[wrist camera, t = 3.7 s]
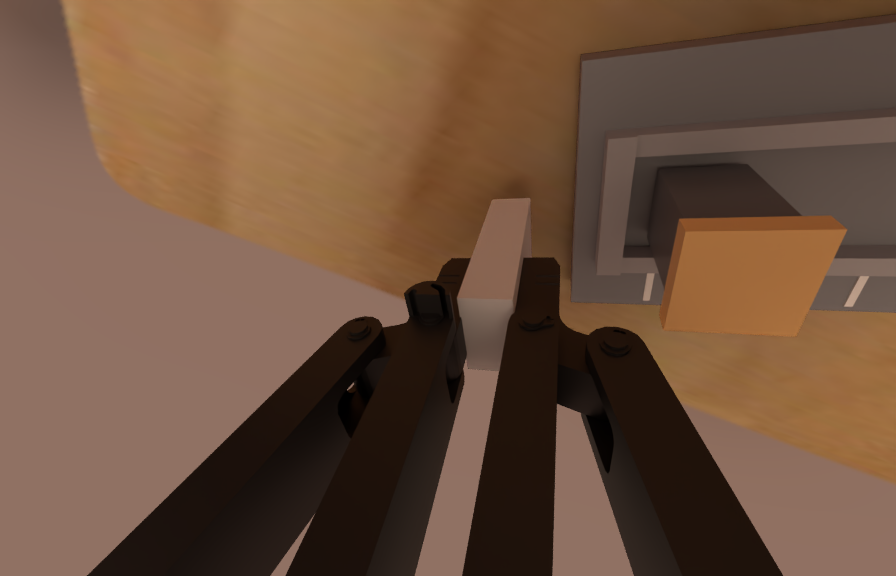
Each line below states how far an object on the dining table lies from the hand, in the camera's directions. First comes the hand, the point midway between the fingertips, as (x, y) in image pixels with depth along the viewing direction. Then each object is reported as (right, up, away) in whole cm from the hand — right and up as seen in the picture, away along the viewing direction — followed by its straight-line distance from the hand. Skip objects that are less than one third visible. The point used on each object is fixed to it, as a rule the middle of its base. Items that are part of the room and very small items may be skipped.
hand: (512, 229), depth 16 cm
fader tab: (+7, +1, 0) cm, 7 cm away
